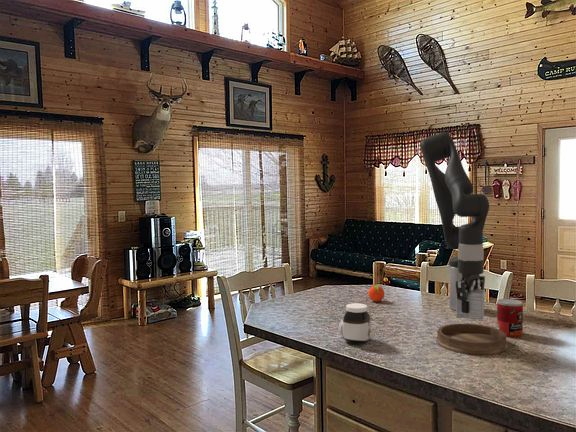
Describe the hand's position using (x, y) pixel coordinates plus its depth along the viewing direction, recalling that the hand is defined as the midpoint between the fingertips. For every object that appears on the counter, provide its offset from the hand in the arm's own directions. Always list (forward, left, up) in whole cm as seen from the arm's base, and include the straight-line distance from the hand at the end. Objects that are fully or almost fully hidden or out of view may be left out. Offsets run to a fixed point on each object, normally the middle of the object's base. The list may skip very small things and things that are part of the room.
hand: (470, 310), depth 151 cm
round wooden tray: (0, 0, -10) cm, 10 cm away
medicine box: (0, 0, -2) cm, 2 cm away
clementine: (-23, -56, -11) cm, 61 cm away
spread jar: (+23, -29, -11) cm, 38 cm away
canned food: (-18, +4, -11) cm, 21 cm away
